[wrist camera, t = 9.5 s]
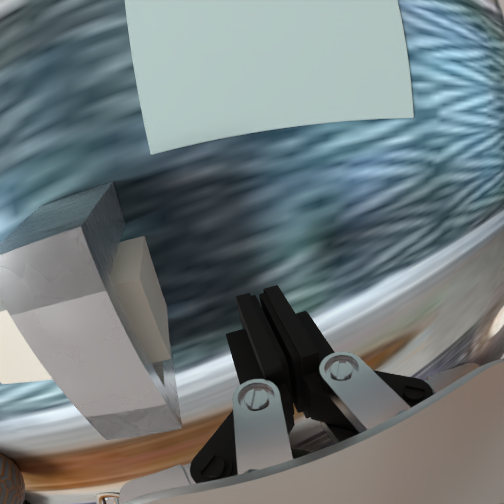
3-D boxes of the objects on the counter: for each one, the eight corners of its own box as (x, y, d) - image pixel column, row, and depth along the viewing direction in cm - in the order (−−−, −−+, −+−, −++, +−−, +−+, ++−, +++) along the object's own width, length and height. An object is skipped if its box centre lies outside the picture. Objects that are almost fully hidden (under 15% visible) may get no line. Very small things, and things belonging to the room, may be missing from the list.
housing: (112, 181, 12) (81, 226, 7) (172, 346, 17) (182, 428, 12) (39, 206, 12) (-18, 261, 7) (111, 360, 16) (106, 439, 11)
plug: (145, 234, 14) (139, 278, 10) (166, 304, 16) (171, 358, 12) (-30, 284, 12) (-61, 326, 8) (1, 339, 14) (-20, 385, 10)
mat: (391, -1, 11) (396, -3, 11) (407, 117, 15) (413, 117, 14) (125, 2, 9) (124, -2, 8) (151, 153, 12) (150, 154, 12)
